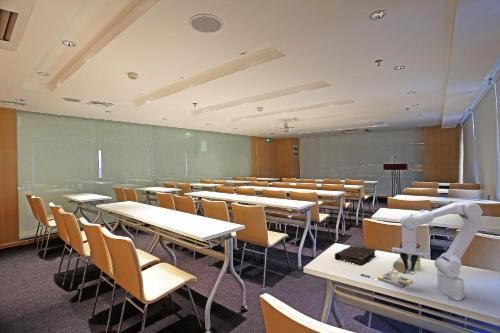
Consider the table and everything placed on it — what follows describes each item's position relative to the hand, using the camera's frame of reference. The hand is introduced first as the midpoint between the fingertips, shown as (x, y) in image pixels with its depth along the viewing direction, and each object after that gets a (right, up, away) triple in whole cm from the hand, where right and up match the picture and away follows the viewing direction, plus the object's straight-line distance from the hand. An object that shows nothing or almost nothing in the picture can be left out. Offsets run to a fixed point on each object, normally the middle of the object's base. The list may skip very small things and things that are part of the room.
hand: (409, 270), depth 123 cm
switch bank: (-2, -10, +8) cm, 13 cm away
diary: (-6, -12, +47) cm, 49 cm away
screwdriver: (-13, -10, +13) cm, 21 cm away
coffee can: (+18, -11, +29) cm, 36 cm away
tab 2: (-4, -9, +5) cm, 11 cm away
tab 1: (-1, -9, +12) cm, 15 cm away
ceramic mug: (+11, -11, +22) cm, 27 cm away
